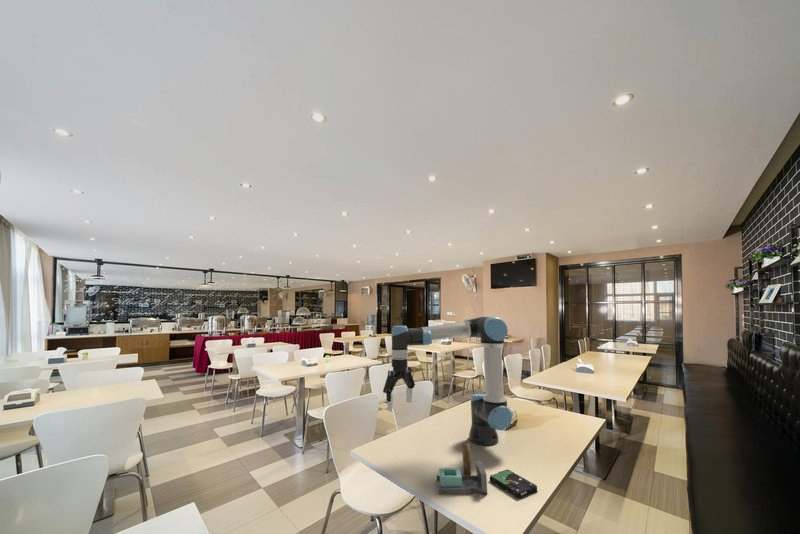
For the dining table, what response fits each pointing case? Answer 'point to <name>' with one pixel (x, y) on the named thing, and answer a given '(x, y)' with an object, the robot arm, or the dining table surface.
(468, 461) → the dowel
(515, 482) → the disk drive
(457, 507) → the dining table surface
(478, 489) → the rail base
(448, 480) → the block
